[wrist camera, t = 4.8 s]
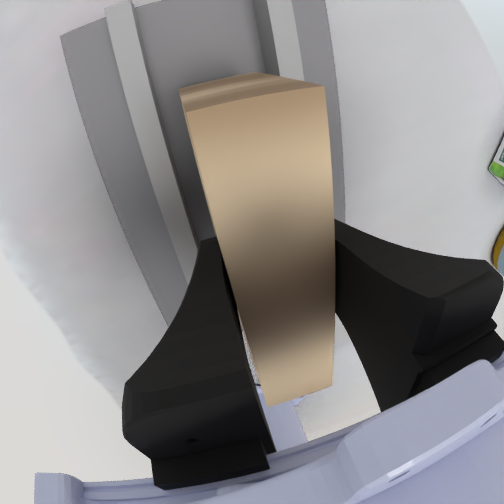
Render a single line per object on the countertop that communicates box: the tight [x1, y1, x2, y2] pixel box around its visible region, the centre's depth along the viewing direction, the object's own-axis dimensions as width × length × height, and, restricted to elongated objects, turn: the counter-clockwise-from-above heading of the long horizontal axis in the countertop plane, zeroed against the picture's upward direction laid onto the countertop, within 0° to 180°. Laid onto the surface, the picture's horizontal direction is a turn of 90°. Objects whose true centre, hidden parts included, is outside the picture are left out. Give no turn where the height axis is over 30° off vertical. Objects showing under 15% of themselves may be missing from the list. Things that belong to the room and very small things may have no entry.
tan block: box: [178, 72, 335, 407], centre depth 12 cm, size 12×3×6 cm, turn 10°
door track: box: [60, 0, 345, 331], centre depth 16 cm, size 20×12×3 cm, turn 10°
